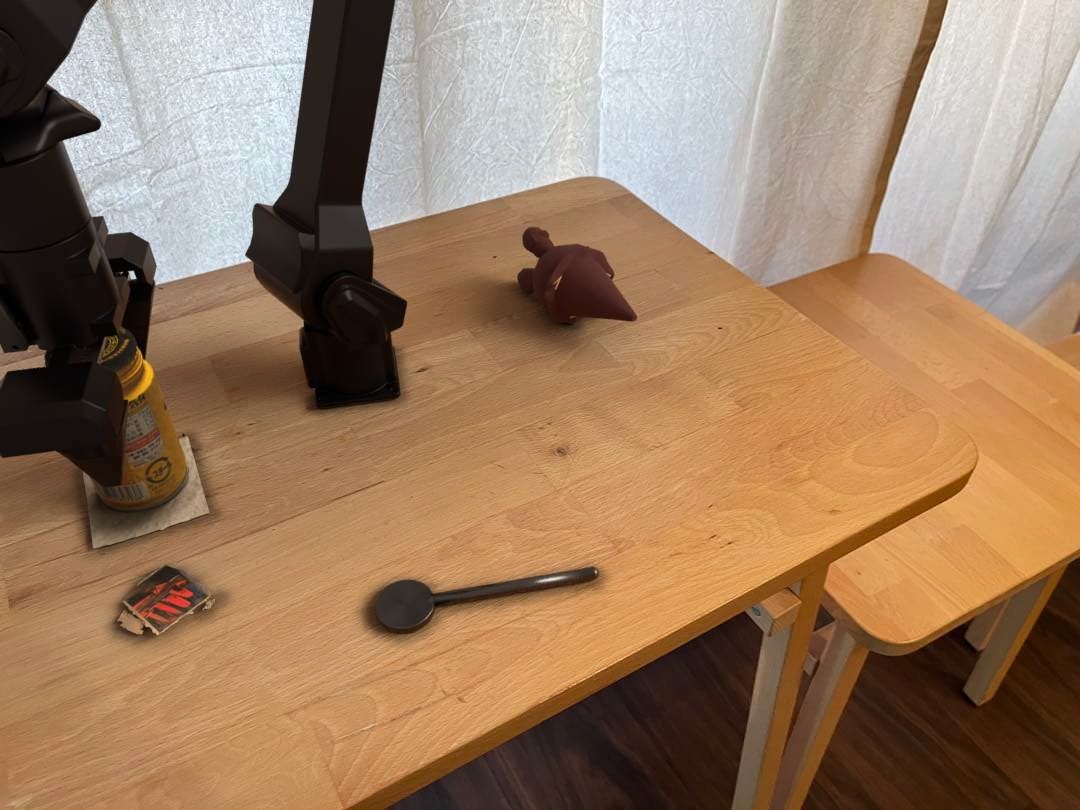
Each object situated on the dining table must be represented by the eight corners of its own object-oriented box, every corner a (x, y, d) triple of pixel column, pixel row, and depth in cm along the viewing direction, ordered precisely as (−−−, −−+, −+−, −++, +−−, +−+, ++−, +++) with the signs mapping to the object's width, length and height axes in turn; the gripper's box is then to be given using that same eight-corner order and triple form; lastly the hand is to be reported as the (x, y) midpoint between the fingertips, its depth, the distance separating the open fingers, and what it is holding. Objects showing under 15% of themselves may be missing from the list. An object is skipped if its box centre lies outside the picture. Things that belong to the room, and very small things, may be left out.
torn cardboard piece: (160, 563, 56) (158, 559, 56) (225, 591, 54) (223, 586, 54) (105, 620, 53) (103, 615, 52) (172, 650, 51) (170, 646, 51)
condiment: (188, 437, 65) (139, 302, 57) (210, 514, 59) (159, 375, 51) (82, 469, 63) (17, 332, 55) (95, 552, 57) (23, 412, 49)
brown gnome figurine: (677, 272, 70) (560, 214, 80) (609, 281, 66) (494, 219, 76) (659, 350, 73) (549, 286, 83) (592, 364, 69) (485, 294, 79)
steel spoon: (591, 554, 57) (592, 546, 56) (606, 599, 54) (606, 591, 53) (373, 590, 54) (372, 582, 54) (377, 639, 52) (376, 630, 51)
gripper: (-72, 164, 54) (26, 366, 64) (-202, 344, 40) (-50, 565, 50) (120, 148, 55) (186, 346, 65) (60, 315, 41) (155, 534, 52)
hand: (124, 435), depth 58 cm, fingers open, 9 cm apart
